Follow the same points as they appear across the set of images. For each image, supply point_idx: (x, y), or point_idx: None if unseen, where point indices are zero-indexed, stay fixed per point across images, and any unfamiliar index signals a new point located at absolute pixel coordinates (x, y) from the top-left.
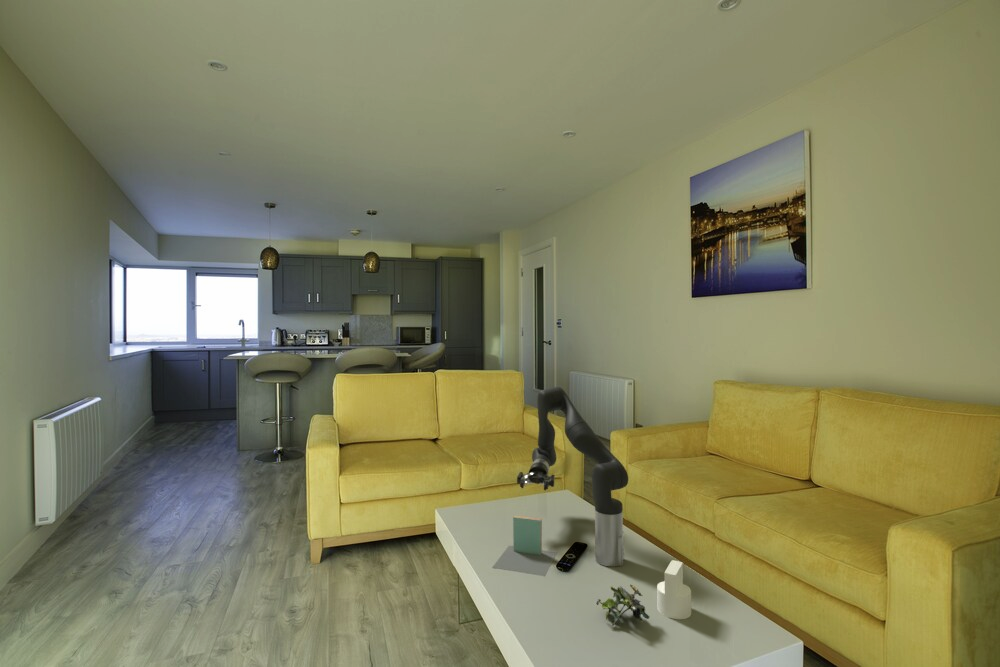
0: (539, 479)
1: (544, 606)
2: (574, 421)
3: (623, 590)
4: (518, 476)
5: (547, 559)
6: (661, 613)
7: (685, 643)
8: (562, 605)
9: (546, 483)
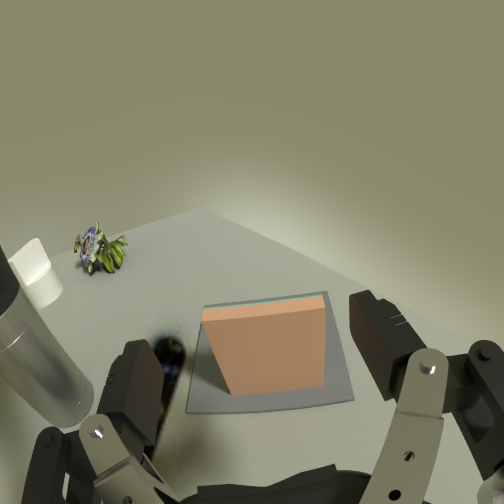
0: (210, 498)
1: (197, 252)
2: None
3: (92, 232)
4: (501, 366)
5: (209, 365)
6: (62, 285)
7: (68, 259)
8: (173, 260)
9: (118, 385)
